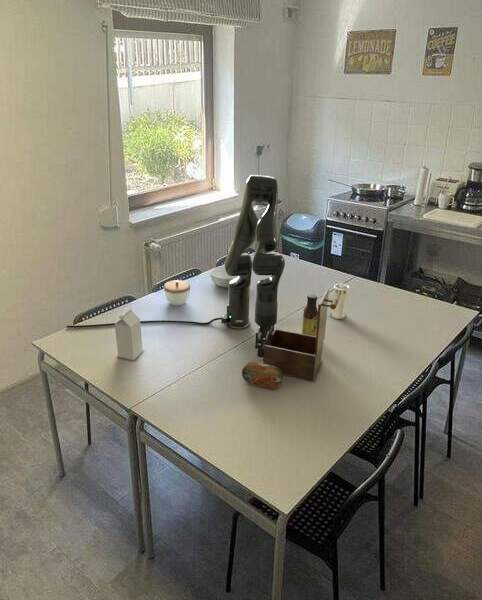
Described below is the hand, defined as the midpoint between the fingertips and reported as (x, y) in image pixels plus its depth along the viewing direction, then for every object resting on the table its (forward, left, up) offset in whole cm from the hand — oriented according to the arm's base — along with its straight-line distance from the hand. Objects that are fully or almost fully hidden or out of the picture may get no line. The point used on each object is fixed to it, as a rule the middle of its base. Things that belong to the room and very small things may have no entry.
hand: (264, 350), depth 172 cm
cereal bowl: (-45, +77, -15) cm, 90 cm away
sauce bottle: (+8, +39, -15) cm, 42 cm away
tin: (0, 0, -15) cm, 15 cm away
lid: (+16, +16, +7) cm, 24 cm away
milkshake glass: (+16, +64, -15) cm, 68 cm away
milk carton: (-55, -1, -15) cm, 57 cm away
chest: (+7, +16, -14) cm, 23 cm away
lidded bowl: (-59, +48, -15) cm, 78 cm away
